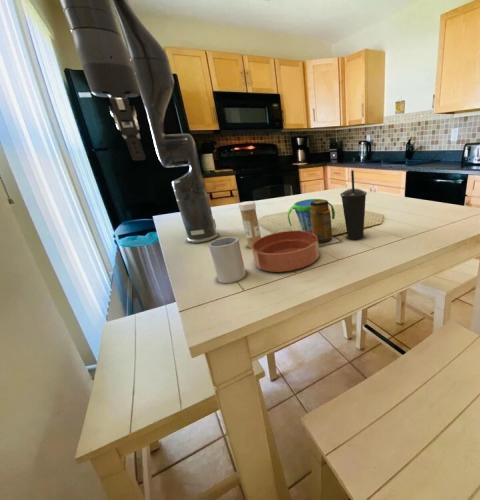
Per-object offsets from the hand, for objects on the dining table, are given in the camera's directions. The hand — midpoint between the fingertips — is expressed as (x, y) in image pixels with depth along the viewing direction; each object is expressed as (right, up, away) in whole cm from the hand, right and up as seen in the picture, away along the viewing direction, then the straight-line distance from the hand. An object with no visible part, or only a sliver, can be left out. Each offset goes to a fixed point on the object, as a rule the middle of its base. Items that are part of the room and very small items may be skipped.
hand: (139, 159), depth 56 cm
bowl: (+28, -21, +17) cm, 38 cm away
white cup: (+15, -25, +9) cm, 31 cm away
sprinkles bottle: (+16, -17, +28) cm, 36 cm away
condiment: (+37, -16, +28) cm, 49 cm away
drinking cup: (+47, -15, +28) cm, 57 cm away
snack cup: (+33, -13, +36) cm, 50 cm away
